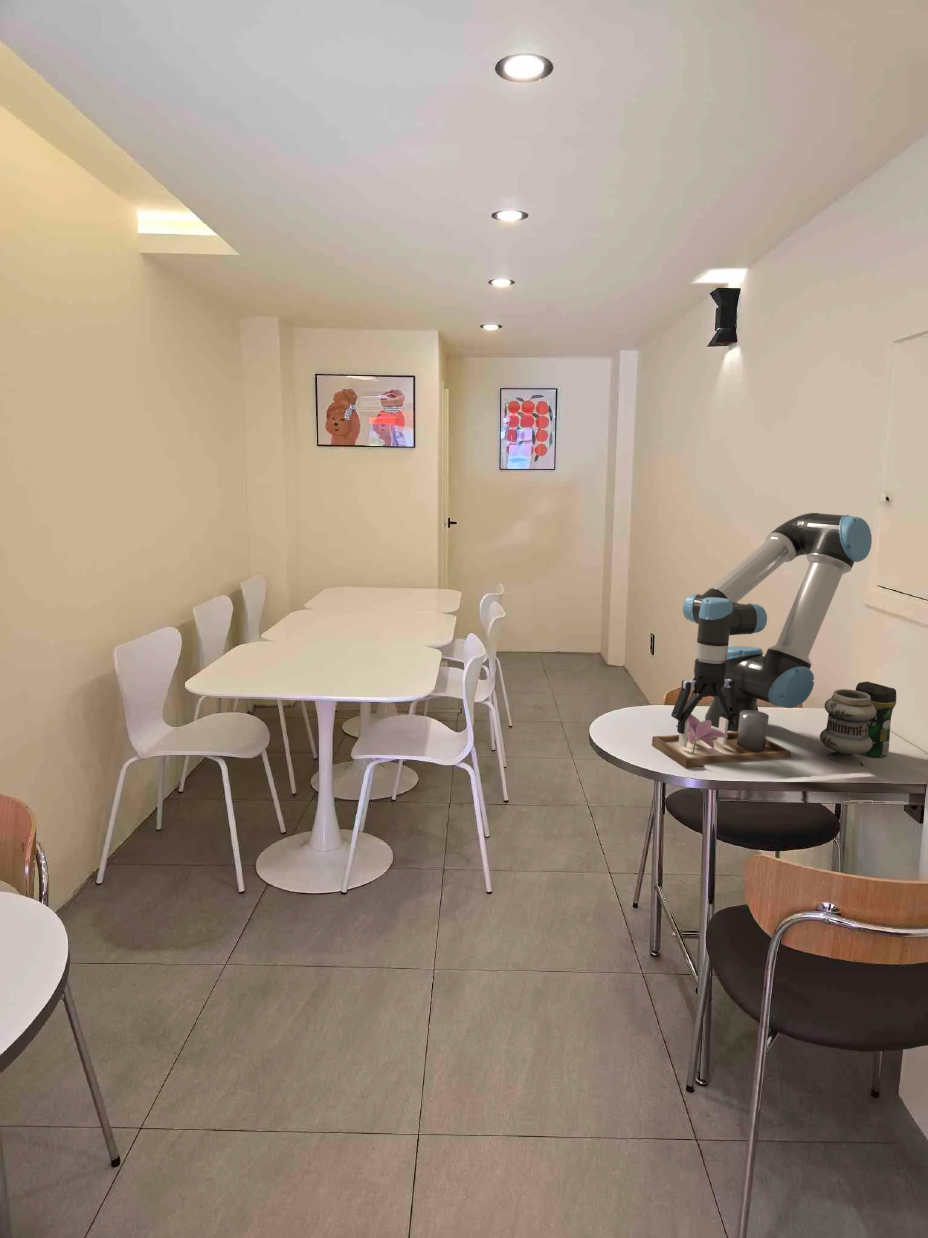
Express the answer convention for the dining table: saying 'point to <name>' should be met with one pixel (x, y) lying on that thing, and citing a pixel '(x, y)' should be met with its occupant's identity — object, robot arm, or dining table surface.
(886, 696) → the coffee jar
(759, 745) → the grey rounded cylinder
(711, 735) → the lily
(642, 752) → the dining table surface
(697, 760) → the tray
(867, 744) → the apothecary jar
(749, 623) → the robot arm
